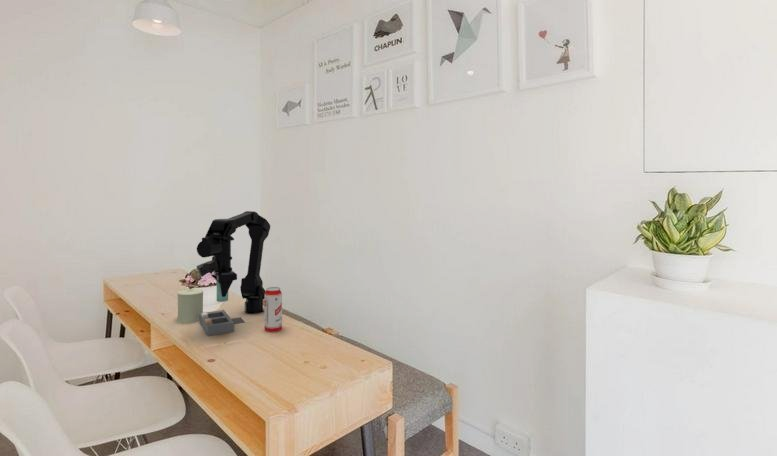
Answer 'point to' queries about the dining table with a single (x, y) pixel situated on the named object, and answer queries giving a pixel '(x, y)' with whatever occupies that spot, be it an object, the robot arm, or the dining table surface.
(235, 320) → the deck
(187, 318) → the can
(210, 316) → the dock
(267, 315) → the beer can
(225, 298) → the plug
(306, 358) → the dining table surface
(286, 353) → the dining table surface
